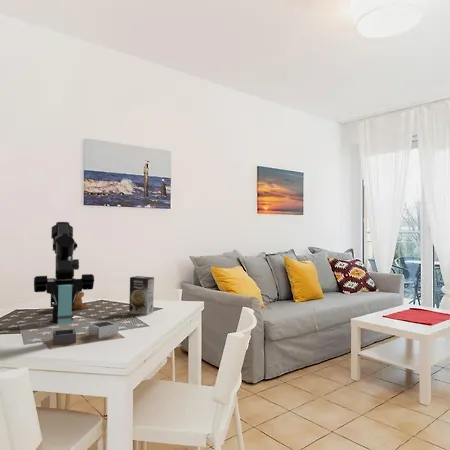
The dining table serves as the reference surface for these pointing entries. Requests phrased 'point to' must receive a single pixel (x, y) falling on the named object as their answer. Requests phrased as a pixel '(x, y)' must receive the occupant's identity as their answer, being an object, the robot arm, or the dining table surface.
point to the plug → (64, 303)
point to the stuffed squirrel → (79, 301)
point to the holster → (64, 336)
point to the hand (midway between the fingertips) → (65, 303)
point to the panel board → (79, 340)
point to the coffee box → (141, 295)
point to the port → (103, 330)
